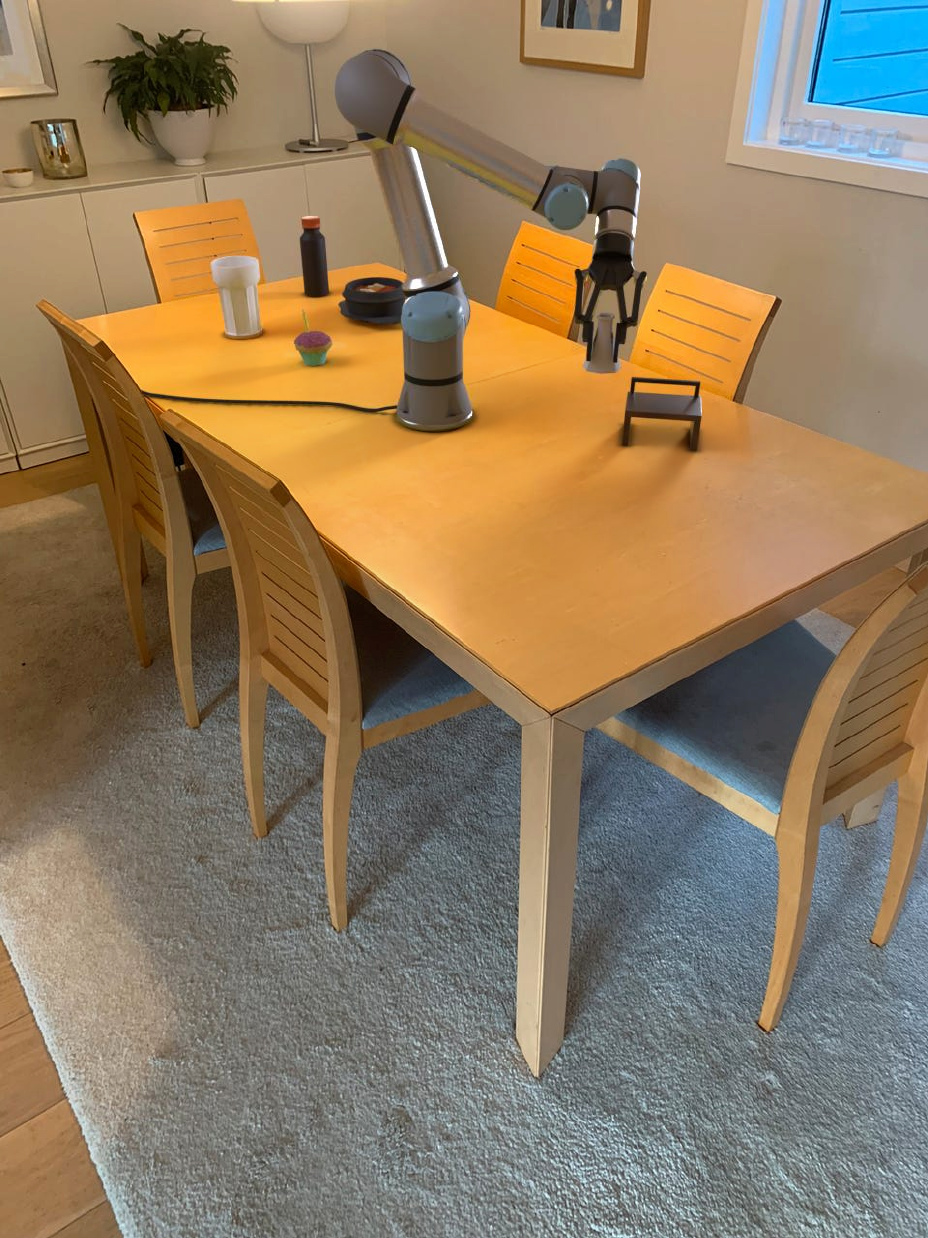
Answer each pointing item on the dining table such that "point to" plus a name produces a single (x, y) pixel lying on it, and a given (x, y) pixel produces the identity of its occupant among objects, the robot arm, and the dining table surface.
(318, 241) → the bottle
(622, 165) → the robot arm
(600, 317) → the flask
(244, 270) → the cup
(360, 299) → the casserole
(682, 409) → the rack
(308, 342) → the cupcake
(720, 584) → the dining table surface
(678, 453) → the dining table surface
